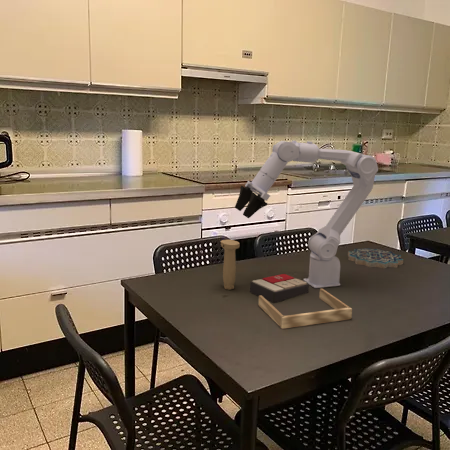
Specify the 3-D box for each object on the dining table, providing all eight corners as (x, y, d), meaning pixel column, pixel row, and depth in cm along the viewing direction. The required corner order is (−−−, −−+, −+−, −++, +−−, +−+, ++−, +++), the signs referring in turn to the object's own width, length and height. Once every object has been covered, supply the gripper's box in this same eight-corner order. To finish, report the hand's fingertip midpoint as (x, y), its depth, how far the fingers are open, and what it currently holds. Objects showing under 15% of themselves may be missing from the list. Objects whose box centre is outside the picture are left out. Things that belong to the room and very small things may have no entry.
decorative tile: (410, 260, 177) (410, 255, 176) (389, 273, 162) (390, 266, 162) (361, 250, 190) (361, 244, 189) (338, 260, 175) (338, 254, 175)
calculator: (309, 282, 141) (275, 290, 132) (308, 295, 142) (273, 304, 133) (284, 272, 150) (249, 279, 140) (283, 284, 150) (248, 292, 141)
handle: (228, 293, 140) (229, 245, 136) (216, 286, 145) (217, 240, 141) (241, 289, 142) (242, 243, 139) (229, 283, 148) (230, 238, 144)
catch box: (321, 297, 138) (322, 288, 137) (351, 319, 123) (352, 308, 123) (258, 305, 131) (258, 295, 130) (282, 328, 117) (282, 317, 116)
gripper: (248, 164, 143) (224, 199, 144) (266, 174, 130) (239, 213, 131) (265, 176, 146) (241, 211, 147) (284, 186, 133) (257, 225, 134)
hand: (241, 212), depth 139 cm, fingers open, 7 cm apart
